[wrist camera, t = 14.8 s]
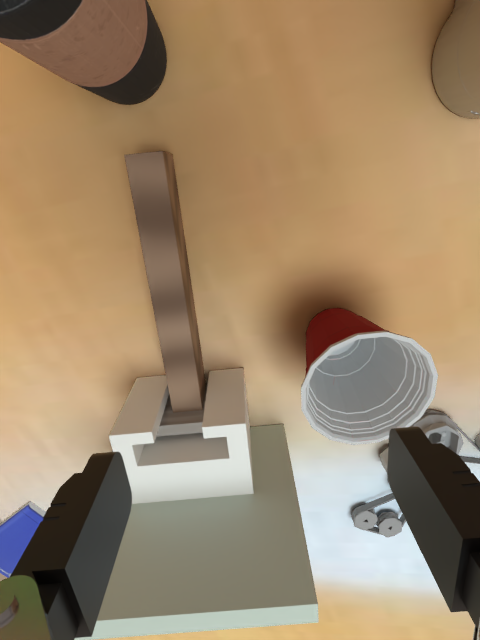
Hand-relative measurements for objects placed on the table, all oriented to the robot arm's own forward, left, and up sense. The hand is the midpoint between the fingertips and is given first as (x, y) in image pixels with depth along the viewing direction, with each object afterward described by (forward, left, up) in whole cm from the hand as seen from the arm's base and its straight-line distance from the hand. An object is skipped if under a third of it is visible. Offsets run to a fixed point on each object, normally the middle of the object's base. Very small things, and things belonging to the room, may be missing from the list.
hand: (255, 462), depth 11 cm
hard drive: (+35, -33, -29) cm, 56 cm away
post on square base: (+2, -7, -28) cm, 29 cm away
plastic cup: (+9, +9, -28) cm, 31 cm away
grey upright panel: (+16, -7, -28) cm, 33 cm away
